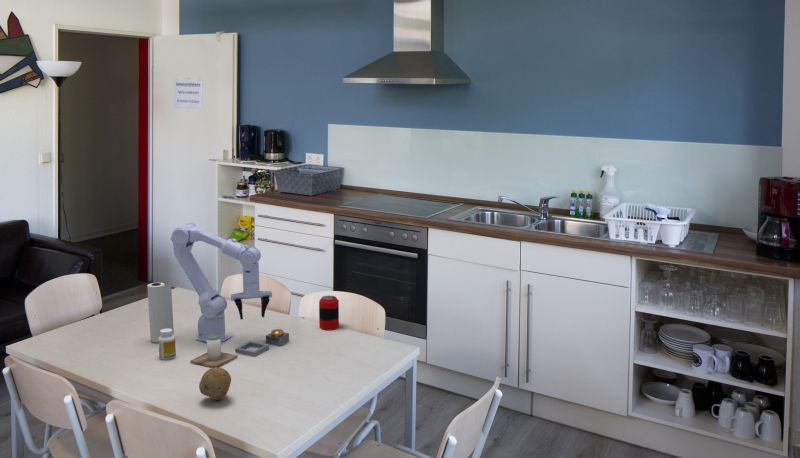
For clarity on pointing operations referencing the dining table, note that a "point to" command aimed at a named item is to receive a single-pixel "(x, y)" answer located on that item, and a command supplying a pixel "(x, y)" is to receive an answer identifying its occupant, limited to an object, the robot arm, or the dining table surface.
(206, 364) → the pad
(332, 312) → the soda can
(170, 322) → the paper towel roll
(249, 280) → the robot arm
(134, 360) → the dining table surface
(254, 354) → the collar
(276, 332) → the plunger
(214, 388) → the potato
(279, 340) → the plunger base
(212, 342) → the cylinder
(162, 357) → the supplement bottle
